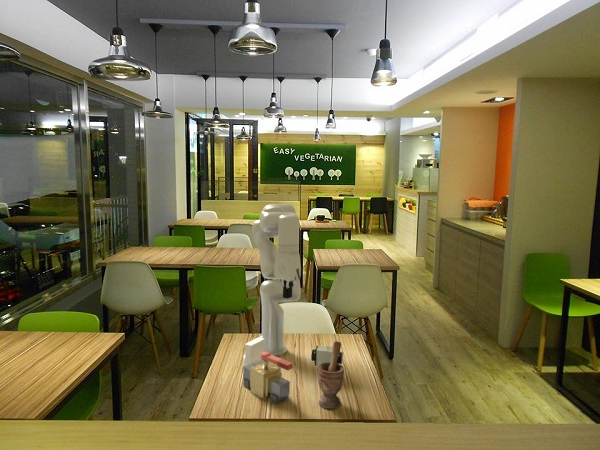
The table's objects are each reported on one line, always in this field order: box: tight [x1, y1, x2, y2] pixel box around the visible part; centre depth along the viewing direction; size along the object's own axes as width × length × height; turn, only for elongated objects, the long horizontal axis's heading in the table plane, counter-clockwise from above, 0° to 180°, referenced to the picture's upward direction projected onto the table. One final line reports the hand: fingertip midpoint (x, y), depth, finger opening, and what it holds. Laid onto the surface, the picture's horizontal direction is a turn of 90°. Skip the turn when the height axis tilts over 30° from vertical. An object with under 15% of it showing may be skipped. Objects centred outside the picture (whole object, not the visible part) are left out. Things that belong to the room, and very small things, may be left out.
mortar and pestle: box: [317, 340, 345, 410], centre depth 155 cm, size 12×9×20 cm
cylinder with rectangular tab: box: [242, 336, 265, 367], centre depth 178 cm, size 9×9×12 cm
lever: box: [261, 351, 294, 371], centre depth 157 cm, size 14×4×2 cm, turn 47°
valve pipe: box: [242, 360, 291, 405], centre depth 161 cm, size 20×8×12 cm, turn 45°
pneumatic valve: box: [310, 345, 344, 367], centre depth 175 cm, size 6×12×12 cm, turn 78°
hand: (287, 297), depth 168 cm, fingers closed
